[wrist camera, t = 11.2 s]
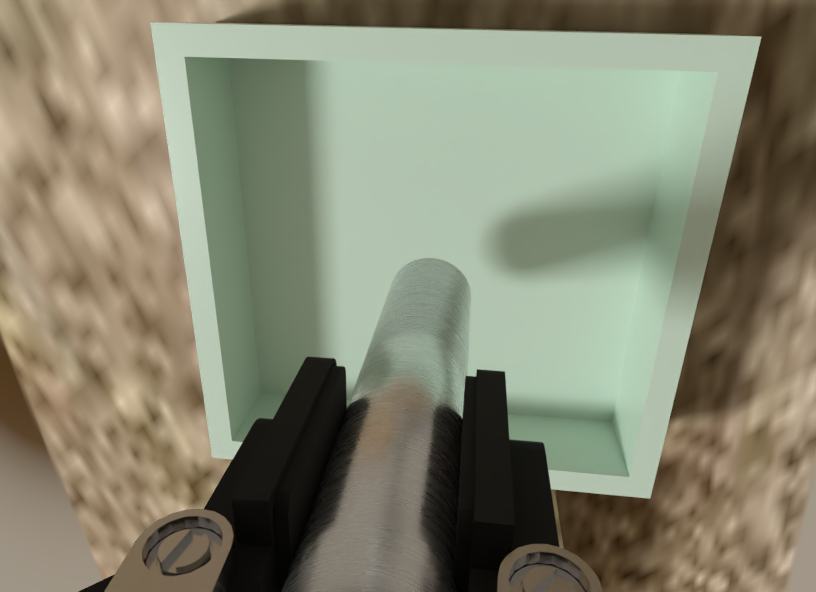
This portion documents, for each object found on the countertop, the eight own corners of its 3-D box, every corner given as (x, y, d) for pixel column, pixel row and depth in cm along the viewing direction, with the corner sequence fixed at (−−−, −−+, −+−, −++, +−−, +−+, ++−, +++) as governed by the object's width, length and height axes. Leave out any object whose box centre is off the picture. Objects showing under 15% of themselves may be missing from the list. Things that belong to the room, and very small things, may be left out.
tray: (213, 22, 19) (150, 22, 16) (704, 34, 18) (761, 36, 14) (251, 394, 25) (212, 457, 21) (624, 425, 24) (650, 498, 20)
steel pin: (366, 230, 17) (100, 691, 5) (500, 238, 17) (544, 752, 5) (367, 347, 19) (163, 909, 7) (489, 356, 18) (503, 967, 6)
